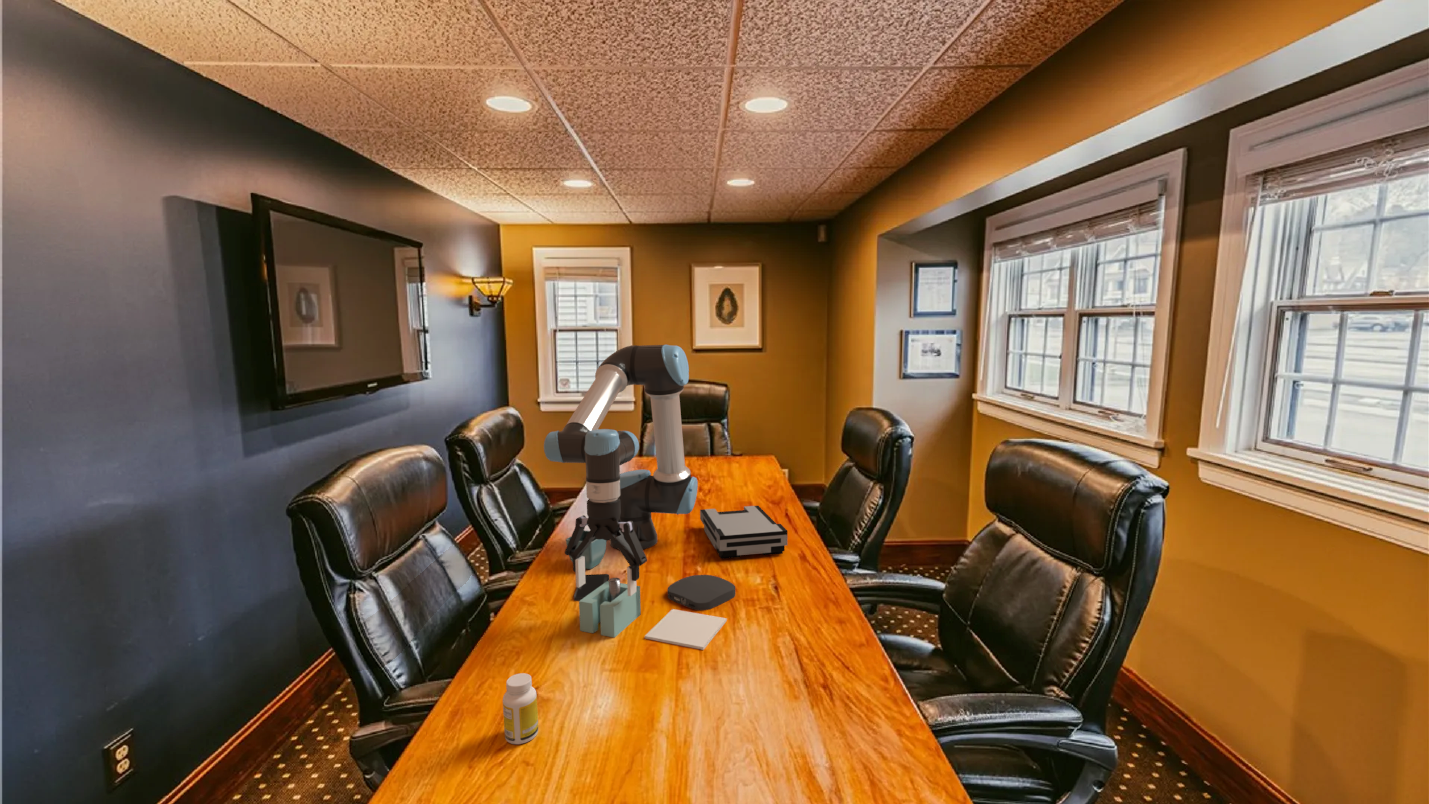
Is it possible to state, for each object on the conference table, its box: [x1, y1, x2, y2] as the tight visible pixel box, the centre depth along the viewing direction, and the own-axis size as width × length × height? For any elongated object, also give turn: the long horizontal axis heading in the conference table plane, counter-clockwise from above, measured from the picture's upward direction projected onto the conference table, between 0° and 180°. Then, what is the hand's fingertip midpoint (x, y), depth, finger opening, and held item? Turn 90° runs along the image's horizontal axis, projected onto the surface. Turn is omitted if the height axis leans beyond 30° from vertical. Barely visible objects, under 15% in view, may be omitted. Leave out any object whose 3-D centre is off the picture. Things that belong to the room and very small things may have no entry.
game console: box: [699, 505, 788, 560], centre depth 195 cm, size 21×32×8 cm, turn 12°
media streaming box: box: [667, 574, 736, 611], centre depth 155 cm, size 15×15×3 cm
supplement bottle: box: [502, 672, 539, 745], centre depth 101 cm, size 5×5×10 cm
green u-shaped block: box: [578, 581, 642, 638], centre depth 140 cm, size 12×9×7 cm
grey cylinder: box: [609, 577, 621, 602], centre depth 142 cm, size 3×3×10 cm
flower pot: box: [565, 530, 607, 570], centre depth 175 cm, size 9×9×9 cm
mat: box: [644, 608, 728, 651], centre depth 137 cm, size 14×14×1 cm
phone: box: [573, 573, 610, 602], centre depth 160 cm, size 8×1×15 cm
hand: (606, 589), depth 138 cm, fingers open, 13 cm apart
